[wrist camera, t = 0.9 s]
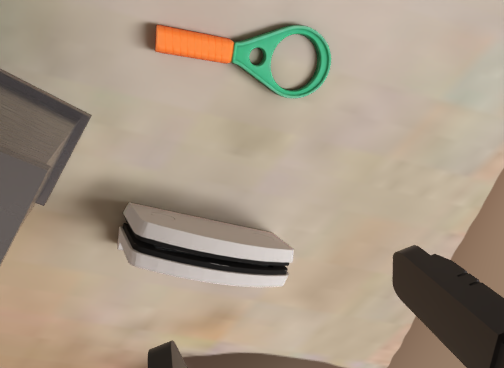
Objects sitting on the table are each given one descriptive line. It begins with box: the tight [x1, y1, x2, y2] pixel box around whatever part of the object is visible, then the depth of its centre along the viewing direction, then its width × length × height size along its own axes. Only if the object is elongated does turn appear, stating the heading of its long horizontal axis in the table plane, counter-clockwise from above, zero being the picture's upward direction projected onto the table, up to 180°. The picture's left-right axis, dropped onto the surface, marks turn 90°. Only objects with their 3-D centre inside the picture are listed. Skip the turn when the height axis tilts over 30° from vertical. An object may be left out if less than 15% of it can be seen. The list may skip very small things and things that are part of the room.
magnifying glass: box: [155, 25, 331, 98], centre depth 26 cm, size 15×6×2 cm, turn 79°
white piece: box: [117, 202, 294, 287], centre depth 30 cm, size 17×5×10 cm, turn 66°
